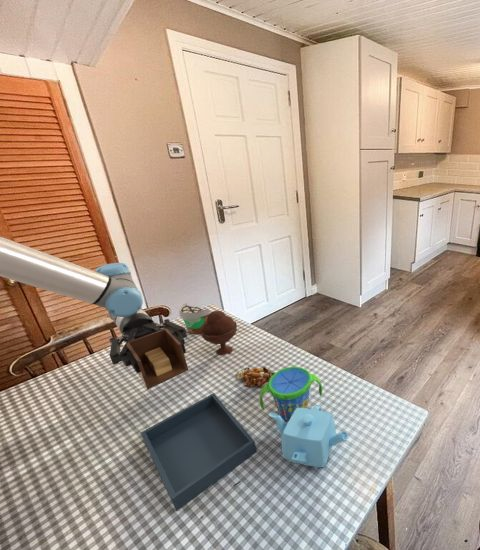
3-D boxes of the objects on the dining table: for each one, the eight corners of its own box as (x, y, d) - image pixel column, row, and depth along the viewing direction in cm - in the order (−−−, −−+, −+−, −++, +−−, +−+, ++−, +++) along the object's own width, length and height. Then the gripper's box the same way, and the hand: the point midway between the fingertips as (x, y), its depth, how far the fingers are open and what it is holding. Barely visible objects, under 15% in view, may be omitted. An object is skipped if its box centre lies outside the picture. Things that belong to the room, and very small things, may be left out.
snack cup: (321, 391, 86) (319, 361, 82) (325, 420, 77) (323, 389, 73) (264, 400, 83) (259, 370, 79) (261, 432, 73) (255, 400, 70)
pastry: (242, 368, 95) (240, 359, 94) (277, 373, 93) (276, 364, 92) (229, 384, 89) (226, 374, 88) (266, 390, 87) (264, 380, 85)
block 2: (152, 370, 76) (149, 359, 75) (168, 363, 78) (164, 353, 77) (157, 376, 74) (153, 365, 73) (172, 369, 76) (169, 358, 75)
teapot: (355, 434, 73) (354, 402, 69) (337, 494, 60) (335, 459, 56) (286, 421, 76) (282, 390, 73) (256, 475, 64) (248, 441, 60)
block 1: (148, 363, 78) (144, 352, 77) (163, 357, 81) (159, 347, 80) (152, 369, 76) (148, 358, 75) (167, 363, 79) (163, 352, 77)
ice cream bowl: (199, 360, 99) (189, 320, 94) (220, 341, 109) (212, 304, 104) (229, 363, 98) (220, 323, 92) (247, 343, 108) (240, 306, 102)
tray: (144, 443, 71) (140, 432, 70) (216, 403, 82) (213, 392, 81) (176, 511, 57) (171, 499, 56) (256, 452, 69) (254, 440, 67)
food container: (176, 333, 114) (170, 310, 110) (191, 325, 119) (185, 302, 116) (200, 340, 110) (194, 316, 106) (214, 331, 115) (209, 308, 111)
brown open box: (134, 369, 77) (125, 342, 74) (173, 352, 84) (166, 328, 81) (147, 389, 71) (137, 361, 68) (188, 370, 77) (181, 344, 74)
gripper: (180, 321, 95) (210, 350, 81) (91, 353, 80) (109, 395, 66) (174, 300, 92) (205, 326, 78) (80, 329, 77) (97, 367, 63)
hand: (161, 357), depth 72 cm, fingers closed on brown open box, 9 cm apart
